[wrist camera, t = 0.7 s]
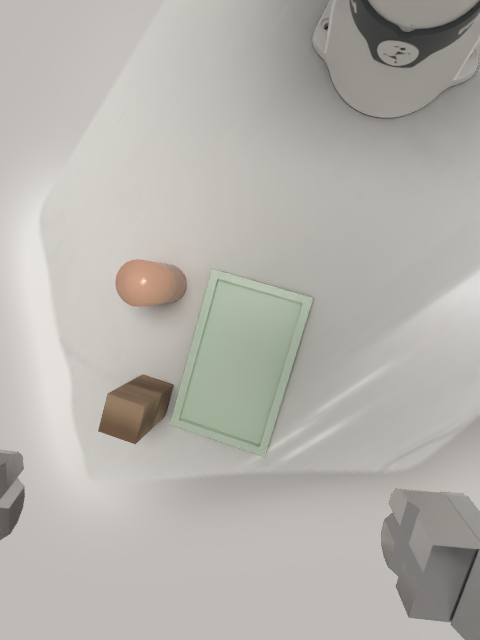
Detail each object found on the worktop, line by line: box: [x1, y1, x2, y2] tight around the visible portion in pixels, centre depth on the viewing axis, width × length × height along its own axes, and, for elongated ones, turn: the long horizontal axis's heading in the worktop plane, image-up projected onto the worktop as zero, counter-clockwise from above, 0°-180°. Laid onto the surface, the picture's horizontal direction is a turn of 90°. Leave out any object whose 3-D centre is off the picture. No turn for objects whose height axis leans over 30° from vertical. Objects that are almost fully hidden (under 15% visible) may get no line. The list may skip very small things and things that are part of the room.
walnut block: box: [98, 375, 173, 444], centre depth 50 cm, size 4×4×10 cm
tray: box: [170, 269, 313, 457], centre depth 52 cm, size 21×13×2 cm, turn 164°
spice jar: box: [116, 260, 186, 306], centre depth 49 cm, size 5×5×10 cm
